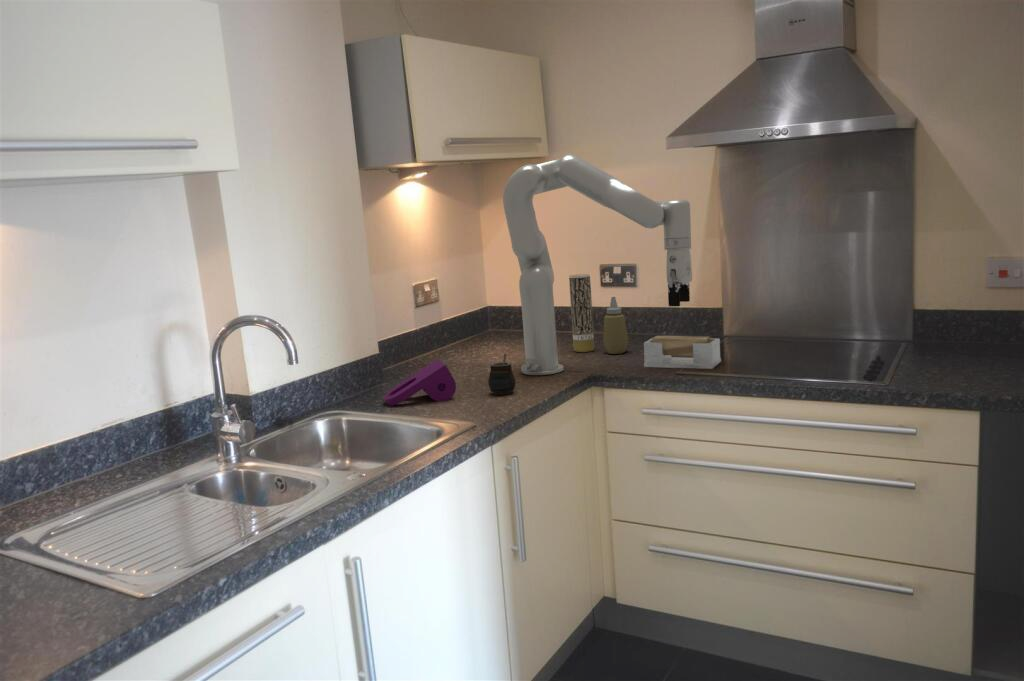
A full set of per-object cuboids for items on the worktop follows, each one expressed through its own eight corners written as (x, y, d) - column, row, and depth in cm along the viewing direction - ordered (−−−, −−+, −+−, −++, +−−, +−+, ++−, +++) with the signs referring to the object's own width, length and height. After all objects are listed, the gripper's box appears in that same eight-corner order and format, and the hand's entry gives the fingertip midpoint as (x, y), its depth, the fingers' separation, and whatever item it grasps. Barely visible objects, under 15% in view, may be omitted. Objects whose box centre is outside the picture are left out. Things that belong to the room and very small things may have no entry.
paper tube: (569, 350, 280) (565, 275, 276) (587, 348, 282) (583, 273, 278) (580, 353, 274) (575, 276, 269) (598, 350, 276) (593, 274, 272)
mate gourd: (486, 396, 223) (483, 359, 222) (492, 390, 231) (489, 354, 229) (513, 395, 222) (510, 358, 220) (518, 389, 229) (515, 353, 228)
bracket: (712, 368, 237) (711, 344, 235) (643, 366, 246) (642, 343, 245) (721, 361, 245) (720, 337, 244) (654, 360, 255) (653, 337, 253)
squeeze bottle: (626, 355, 266) (623, 298, 263) (601, 355, 268) (597, 299, 265) (631, 350, 273) (628, 294, 270) (606, 350, 276) (603, 295, 273)
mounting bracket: (403, 428, 220) (461, 391, 224) (386, 402, 218) (445, 364, 221) (397, 420, 229) (453, 384, 233) (381, 395, 227) (437, 359, 230)
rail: (706, 356, 240) (706, 338, 239) (652, 354, 247) (652, 338, 246) (710, 353, 243) (710, 336, 242) (657, 352, 251) (656, 335, 250)
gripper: (681, 246, 231) (683, 308, 233) (698, 241, 246) (700, 299, 248) (655, 246, 234) (657, 308, 237) (673, 242, 249) (675, 299, 252)
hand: (679, 303), depth 243 cm, fingers open, 9 cm apart
